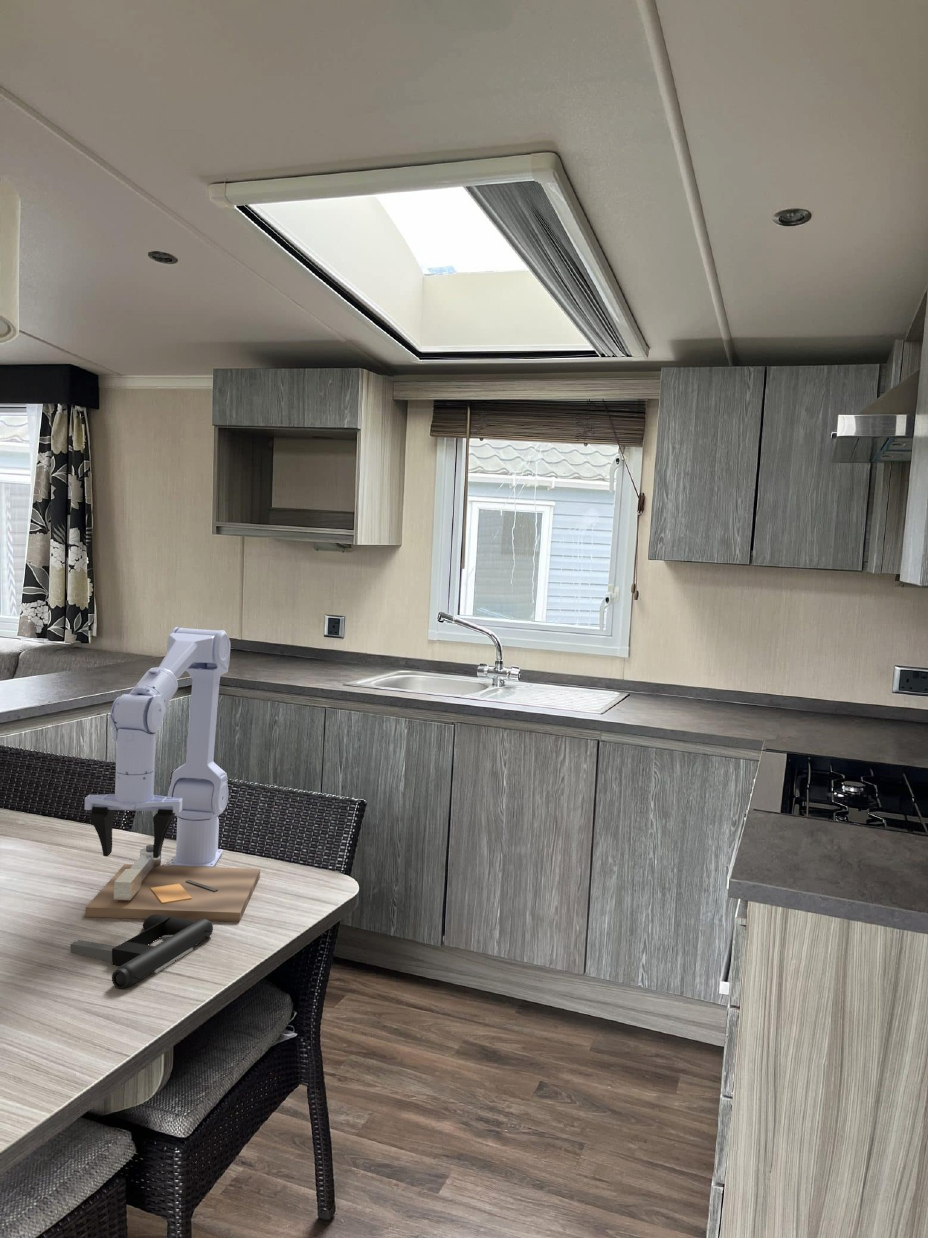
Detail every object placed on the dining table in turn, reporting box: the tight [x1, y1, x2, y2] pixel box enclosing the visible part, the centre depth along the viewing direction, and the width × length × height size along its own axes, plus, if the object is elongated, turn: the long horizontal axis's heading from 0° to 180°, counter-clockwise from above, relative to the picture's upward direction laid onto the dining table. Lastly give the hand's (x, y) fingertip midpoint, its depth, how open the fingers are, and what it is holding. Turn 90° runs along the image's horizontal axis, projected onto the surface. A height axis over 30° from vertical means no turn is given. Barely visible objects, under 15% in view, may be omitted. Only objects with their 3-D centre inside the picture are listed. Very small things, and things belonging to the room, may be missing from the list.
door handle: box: [70, 915, 214, 990], centre depth 133 cm, size 3×20×16 cm
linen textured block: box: [114, 844, 162, 900], centre depth 155 cm, size 18×4×4 cm, turn 4°
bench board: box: [84, 863, 261, 923], centre depth 154 cm, size 20×24×2 cm
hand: (132, 855), depth 145 cm, fingers open, 7 cm apart
